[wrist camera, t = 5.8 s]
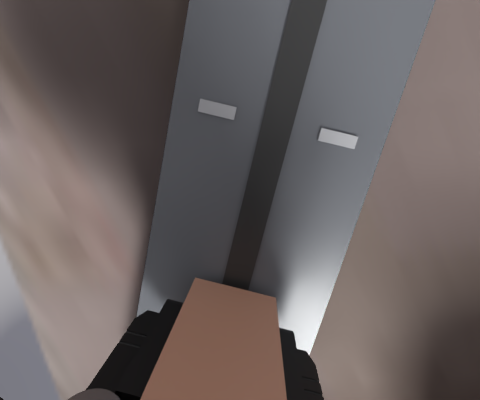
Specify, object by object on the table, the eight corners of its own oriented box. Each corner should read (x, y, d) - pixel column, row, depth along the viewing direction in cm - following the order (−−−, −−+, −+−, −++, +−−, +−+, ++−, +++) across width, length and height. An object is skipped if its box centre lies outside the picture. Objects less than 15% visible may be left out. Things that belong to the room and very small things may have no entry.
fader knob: (277, 298, 10) (305, 540, 4) (256, 364, 11) (254, 656, 5) (194, 276, 10) (97, 487, 4) (178, 345, 11) (78, 609, 5)
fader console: (418, -26, 9) (462, -71, 7) (274, 401, 14) (277, 447, 12) (220, -73, 9) (210, -130, 7) (140, 367, 14) (120, 407, 12)
